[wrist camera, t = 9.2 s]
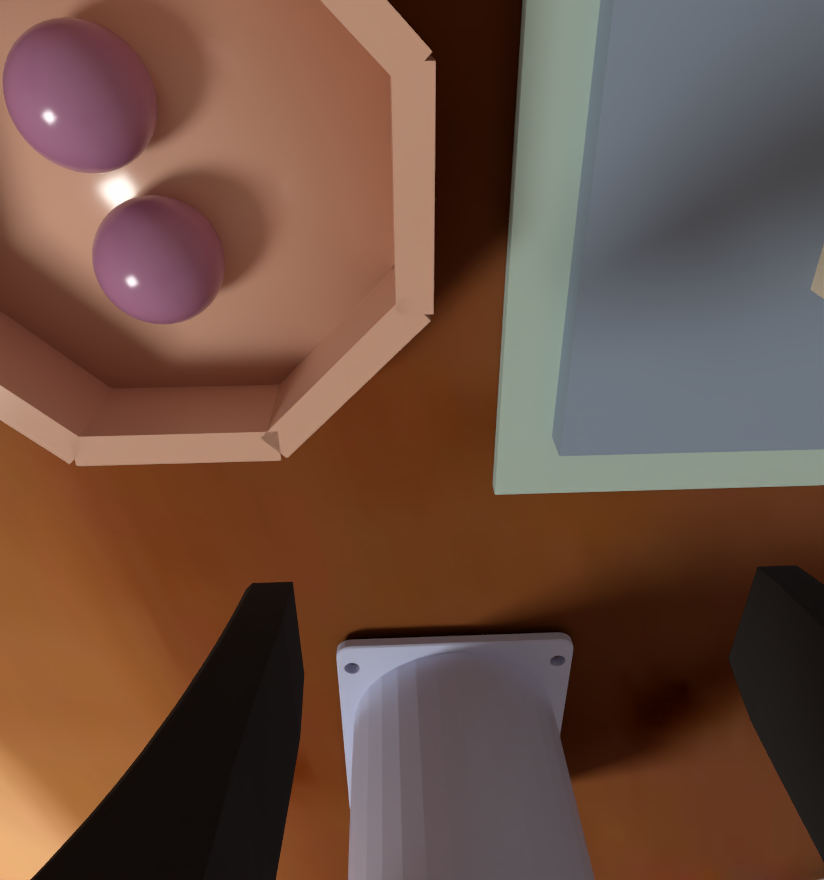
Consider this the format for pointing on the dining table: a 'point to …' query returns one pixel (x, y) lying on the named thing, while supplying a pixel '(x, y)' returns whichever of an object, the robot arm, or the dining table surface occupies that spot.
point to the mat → (547, 280)
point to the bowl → (207, 220)
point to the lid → (698, 233)
